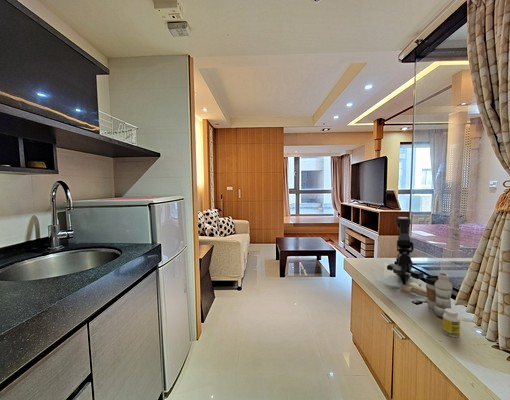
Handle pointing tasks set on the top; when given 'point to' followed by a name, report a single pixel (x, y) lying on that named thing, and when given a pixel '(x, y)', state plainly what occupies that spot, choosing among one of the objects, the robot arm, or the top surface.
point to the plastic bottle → (442, 294)
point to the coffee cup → (431, 290)
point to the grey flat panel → (400, 285)
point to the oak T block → (414, 288)
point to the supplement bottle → (451, 322)
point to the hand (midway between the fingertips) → (404, 284)
